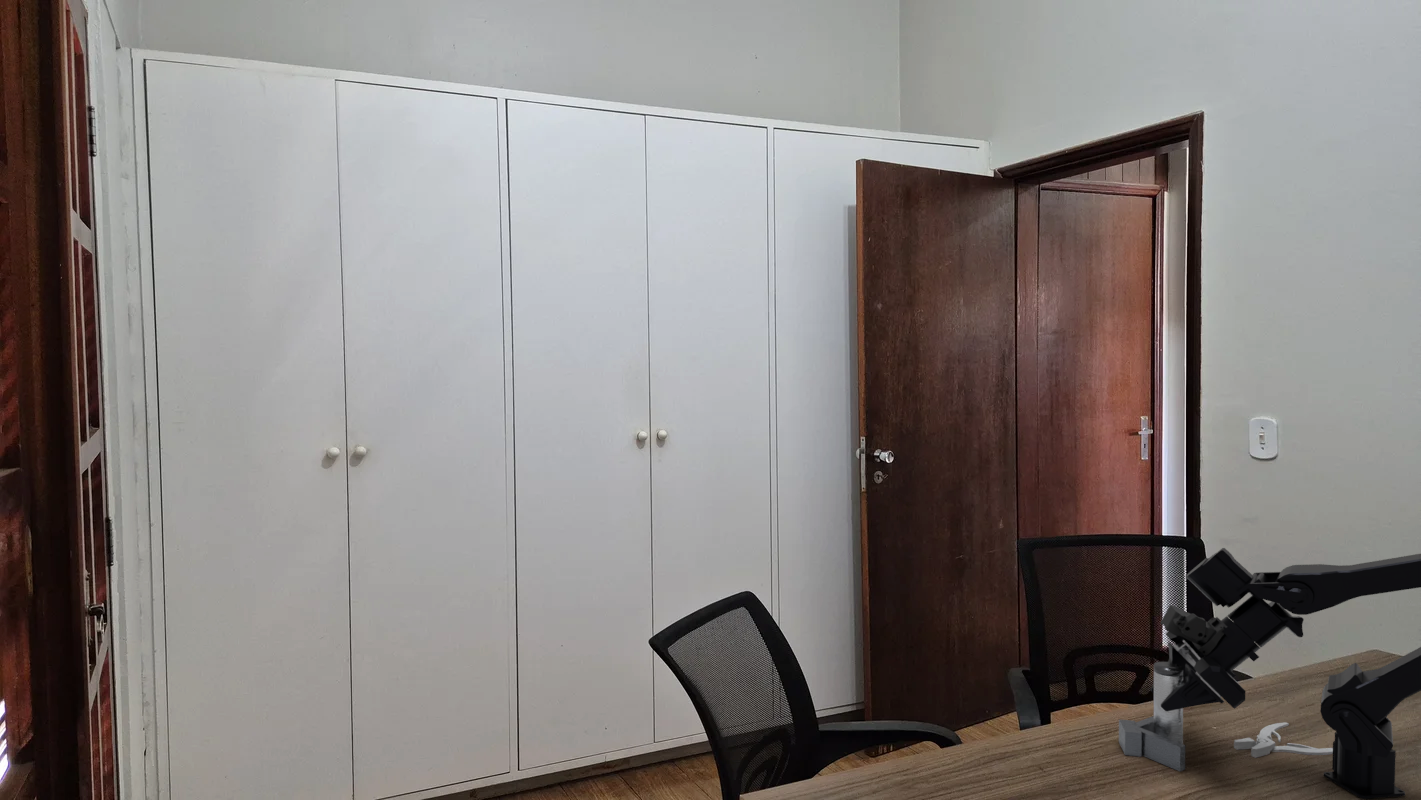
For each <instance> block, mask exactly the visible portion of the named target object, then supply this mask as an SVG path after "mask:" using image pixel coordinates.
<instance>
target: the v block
mask: <svg viewBox="0 0 1421 800" xmlns="http://www.w3.org/2000/svg"><path fill="white" fill-rule="evenodd" d="M1118 743H1119V746H1120V747H1121V750H1122V752H1123V754H1124V756H1130V757H1139V758H1140V757H1145V758H1146V759H1149V760H1152V761H1153V762H1156V763H1159V764H1162V765H1163V766H1166V767H1168V768H1171V769H1172V770H1175V771H1177V772H1183V771H1185V770H1186V745H1185V744H1184V743H1183V744H1181V743H1178V742H1176V741H1173V740H1171V739H1168V738H1166V737H1163V736H1161V735H1158V734H1155V733H1154V715H1152V716H1150V717H1147V718H1144V719H1141V720H1139V721H1135V720H1129V719H1118Z"/></svg>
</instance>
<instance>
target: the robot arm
mask: <svg viewBox="0 0 1421 800" xmlns="http://www.w3.org/2000/svg"><path fill="white" fill-rule="evenodd" d="M1185 578H1186V579H1187V580H1189V582H1190V583H1191V584H1193V585H1194V586H1195V587H1196V588H1197V589H1198V591H1200V592H1201V593H1202V594H1203V595H1204V596H1205V597H1206V598H1207V599H1208V600H1209V601H1210V602H1211V603H1212V604H1214V605H1215V606H1216V607H1218V606H1222V608H1224V607H1227V608H1231V607H1232V606H1234V605H1235V604H1237V603H1239V602H1240V601H1241V600H1242V599H1244V597H1245V596H1246V595H1248V594H1250V597H1249V598H1247V599H1246V600H1245V601H1243V602H1242V603H1240V605H1239V606H1237V607H1236V608H1235V609H1234V610H1232V611H1231V612H1230V613H1228V615H1226V616H1225V617H1224V618H1222V619H1220V618H1219V617H1218V616H1216V617H1215V616H1214V617H1211V618H1210V619H1209V620H1208V621H1206V619H1205V618H1203V617H1199V616H1198V615H1196V614H1195V613H1190V612H1187V611H1185V610H1184V609H1181V608H1179V607H1177V606H1175V605H1172V604H1169V606H1168V608H1167V609H1166V612H1165V613H1164V615H1163V617H1162V619H1161V621H1160V625H1162V626H1164V629H1165V631H1166V633H1165V635H1166V636H1167V638H1168V639H1169V640H1170V641H1171V642H1173V643H1174V644H1172V643H1171V642H1168V643H1167V647H1168V654H1169V656H1168V657H1169V658H1168V660H1167V662H1171V663H1175V664H1178V665H1180V666H1182V667H1183V681H1182V682H1181V683H1180V684H1179V685H1178V686H1177V687H1176V688H1175V689H1174V690H1173V691H1172V692H1171V693H1170V694H1169V695H1168V696H1167V697H1166V699H1165V700H1164V701H1163V702H1162V703H1161V707H1162V708H1163V709H1164V710H1165V711H1171V710H1176V709H1181V708H1183V709H1186V708H1192V707H1196V706H1200V705H1201V706H1202V705H1209V704H1215V703H1219V704H1223V703H1225V701H1226V702H1227V704H1229V706H1231V707H1232V708H1233V709H1236V708H1238V707H1239V706H1240V705H1241V704H1243V703H1244V702H1245V701H1246V689H1244V688H1243V687H1242V685H1241V684H1240V683H1239V682H1238V681H1237V680H1236V679H1235V677H1236V674H1235V673H1234V672H1233V671H1234V670H1235V669H1237V667H1239V666H1240V665H1242V664H1243V663H1244V662H1245V661H1246V660H1247V659H1250V660H1251V661H1253V662H1255V661H1257V660H1258V659H1259V658H1260V656H1259V655H1258V654H1257V652H1258V651H1259V650H1260V649H1261V648H1263V647H1264V646H1265V645H1266V644H1268V643H1269V642H1270V641H1272V640H1273V639H1274V638H1276V637H1277V636H1278V635H1279V634H1281V633H1282V632H1283V631H1285V629H1288V630H1289V631H1290V632H1291V633H1292V634H1293V635H1294V636H1296V637H1298V638H1303V636H1304V632H1303V631H1304V630H1303V623H1304V618H1303V617H1302V616H1303V615H1306V616H1308V615H1312V614H1314V613H1317V612H1320V611H1323V610H1324V611H1325V610H1327V609H1330V608H1333V607H1336V606H1338V605H1340V604H1343V603H1345V602H1347V601H1349V600H1353V599H1356V598H1359V597H1363V596H1364V597H1365V596H1371V595H1378V594H1385V593H1392V592H1398V591H1399V592H1400V591H1405V590H1412V589H1419V588H1421V553H1416V554H1409V555H1404V556H1398V557H1391V558H1387V559H1386V558H1385V559H1380V560H1379V559H1378V560H1374V561H1368V562H1363V563H1362V562H1361V563H1356V564H1349V565H1347V564H1346V565H1334V564H1333V565H1332V564H1324V563H1323V564H1321V563H1320V564H1319V563H1317V564H1315V563H1314V564H1292V565H1290V566H1287V567H1284V568H1283V569H1282V570H1281V571H1266V572H1264V571H1263V572H1253V573H1251V572H1249V571H1248V570H1247V569H1246V567H1244V566H1243V565H1242V564H1241V563H1240V562H1239V561H1237V559H1235V558H1234V556H1233V555H1232V553H1231V552H1230V551H1229V550H1227V549H1226V548H1225V547H1222V548H1220V549H1219V550H1218V551H1217V552H1215V553H1214V554H1212V555H1211V556H1210V557H1206V558H1204V559H1203V560H1202V561H1201V562H1200V563H1199V564H1197V565H1196V566H1194V567H1193V569H1191V570H1190V571H1189V572H1188V573H1187V574H1186V575H1185ZM1266 601H1267V602H1266ZM1268 602H1269V603H1268ZM1291 613H1292V614H1293V615H1294V616H1293V615H1292V614H1291ZM1296 615H1297V616H1296ZM1300 615H1301V616H1300ZM1150 692H1151V693H1152V694H1153V695H1154V683H1153V684H1152V686H1151V688H1150ZM1419 692H1421V646H1420V647H1418V648H1416V649H1415V650H1412V651H1411V652H1408V653H1407V654H1405V655H1403V656H1401V657H1399V658H1397V659H1396V660H1394V661H1391V662H1389V663H1388V664H1386V665H1384V666H1382V667H1379V668H1376V669H1369V670H1364V671H1363V670H1362V668H1361V667H1360V666H1359V664H1358V663H1357V662H1354V663H1352V664H1351V665H1349V666H1348V667H1347V668H1345V670H1343V671H1342V672H1339V673H1337V674H1329V676H1328V680H1327V683H1326V684H1325V685H1324V687H1323V689H1322V694H1321V700H1320V715H1321V718H1322V719H1323V721H1324V723H1325V724H1326V726H1328V727H1329V728H1331V729H1332V730H1334V731H1335V732H1334V740H1333V741H1332V748H1333V754H1332V761H1331V762H1332V764H1331V765H1332V768H1331V769H1332V770H1333V771H1323V777H1324V778H1326V779H1327V780H1329V781H1331V782H1332V783H1334V784H1336V785H1338V786H1339V787H1341V788H1343V789H1345V790H1346V791H1347V792H1349V793H1351V794H1353V795H1355V796H1357V797H1358V798H1360V799H1362V800H1363V799H1365V800H1368V799H1369V800H1370V799H1382V798H1397V797H1405V796H1406V791H1405V790H1403V789H1401V788H1400V787H1397V786H1396V782H1395V781H1396V757H1397V756H1396V754H1397V752H1396V750H1395V749H1393V748H1394V737H1393V724H1392V721H1391V720H1390V719H1389V718H1388V716H1389V715H1390V714H1391V713H1392V712H1393V711H1394V710H1395V708H1397V706H1398V705H1399V704H1400V703H1402V702H1403V701H1404V700H1405V699H1408V698H1410V697H1411V696H1414V695H1415V694H1417V693H1419Z"/></svg>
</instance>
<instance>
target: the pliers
mask: <svg viewBox="0 0 1421 800" xmlns="http://www.w3.org/2000/svg"><path fill="white" fill-rule="evenodd" d="M1288 726H1289V722H1286V721H1285V722H1276V723H1272V724H1269V725H1266V726H1264V727H1263V728H1261V729H1260V731H1259V733H1258V734H1257V735H1256V740H1254V739H1253V738H1251V737H1246V738H1238V739H1234V740H1233V749H1235V750H1250V757H1253V758H1255V759H1256V758H1260V757H1263V756H1267V755H1270V753H1271V752H1272V753H1291V754H1292V753H1293V754H1299V755H1307V756H1325V755H1326V756H1328V755H1333V747H1327V748H1326V747H1323V748H1317V747H1314V746H1313V747H1312V746H1309V745H1305V744H1300V743H1291V742H1290V743H1289V742H1287V743H1286V745H1279V746H1278V745H1276V741H1273V738H1272V735H1274V736H1276V738H1277V742H1278V743H1281V739H1282V738H1281V737H1282V736H1281V735H1280V734H1279V733H1278V732H1277V731H1278V730H1280V729H1282V728H1285V727H1288Z"/></svg>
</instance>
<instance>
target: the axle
mask: <svg viewBox="0 0 1421 800" xmlns="http://www.w3.org/2000/svg"><path fill="white" fill-rule="evenodd" d="M1182 681H1183V667H1182V666H1180V665H1178V664H1175V663H1171V662H1168V661H1156V662H1154V663H1153V684H1154V694H1153V716H1154V733H1155V734H1158V735H1161V736H1163V737H1166V738H1168V739H1171V740H1173V741H1176V742H1178V743H1181V744H1183V745H1184V708H1181V709H1176V710H1171V711H1165V710H1164V709H1163V708H1162V707H1161V703H1162V702H1163V701H1164V700H1165V699H1166V697H1167V696H1168V695H1169V694H1170V693H1171V692H1172V691H1173V690H1174V689H1175V688H1176V687H1177V686H1178V685H1179V684H1180V683H1181V682H1182Z"/></svg>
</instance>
